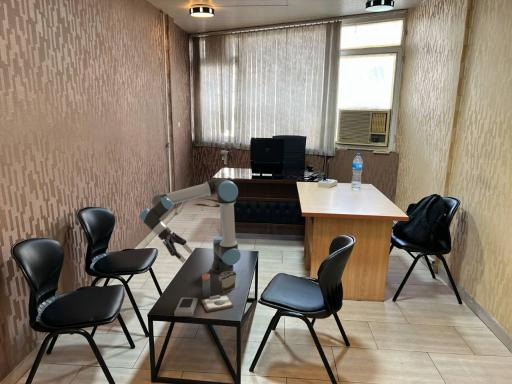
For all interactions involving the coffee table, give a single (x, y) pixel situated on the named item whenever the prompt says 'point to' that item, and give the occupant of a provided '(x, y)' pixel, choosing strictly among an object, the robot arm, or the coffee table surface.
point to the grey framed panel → (186, 307)
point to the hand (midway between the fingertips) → (188, 257)
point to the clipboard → (217, 303)
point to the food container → (227, 280)
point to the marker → (206, 285)
